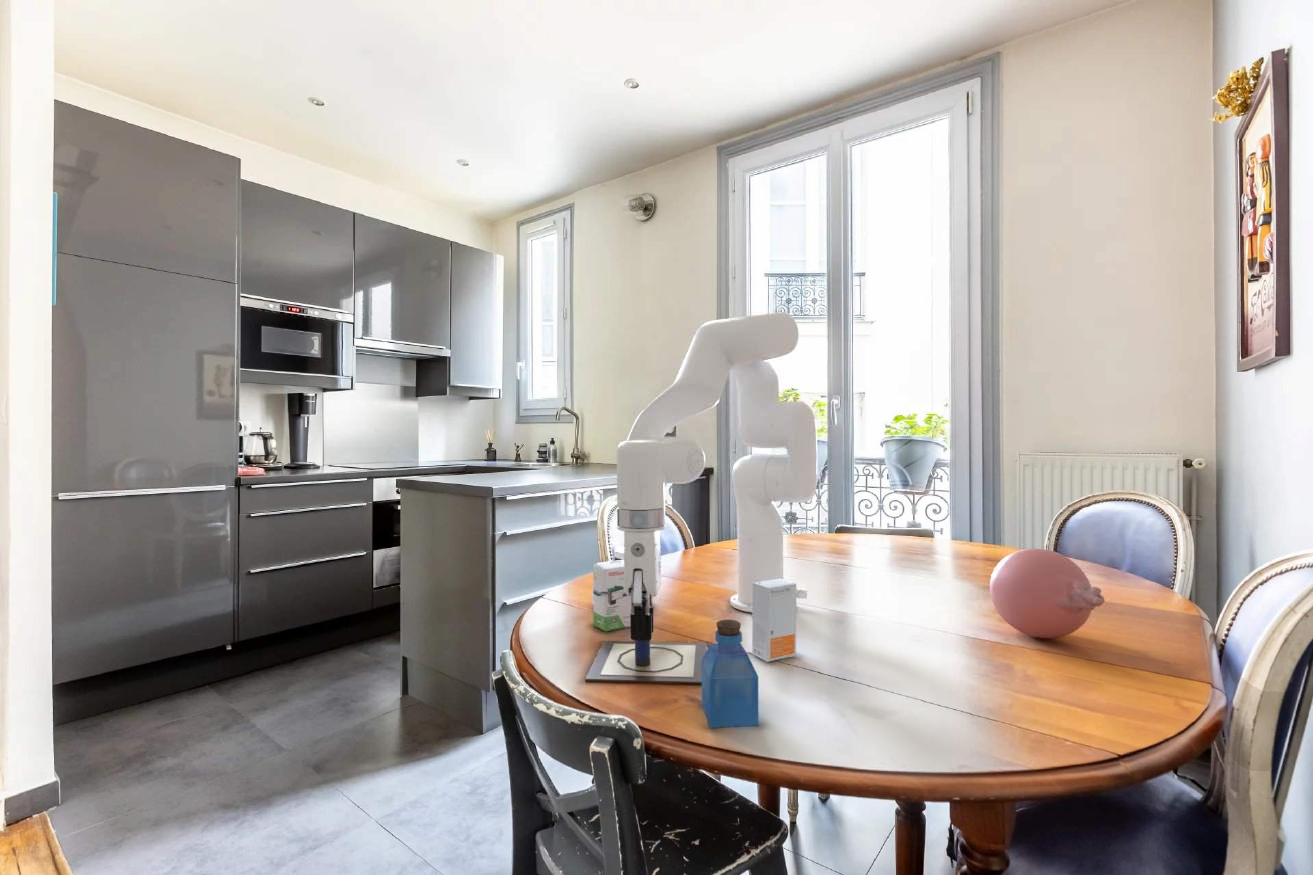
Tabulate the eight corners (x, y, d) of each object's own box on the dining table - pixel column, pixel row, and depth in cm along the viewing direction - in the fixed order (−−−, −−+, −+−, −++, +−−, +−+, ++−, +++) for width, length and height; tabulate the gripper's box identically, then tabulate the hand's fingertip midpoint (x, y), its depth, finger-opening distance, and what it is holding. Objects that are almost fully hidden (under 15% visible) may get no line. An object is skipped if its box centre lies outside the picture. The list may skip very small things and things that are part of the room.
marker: (651, 661, 96) (650, 598, 96) (649, 666, 94) (648, 602, 93) (636, 660, 96) (635, 598, 96) (634, 666, 94) (633, 602, 94)
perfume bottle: (702, 705, 82) (701, 616, 82) (747, 702, 82) (746, 615, 82) (709, 727, 76) (709, 632, 75) (758, 725, 76) (757, 630, 76)
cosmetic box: (767, 663, 96) (767, 588, 96) (751, 654, 100) (751, 582, 99) (797, 656, 99) (797, 583, 98) (780, 648, 102) (780, 577, 102)
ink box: (604, 632, 111) (604, 568, 111) (592, 625, 115) (591, 563, 115) (644, 623, 116) (643, 562, 116) (631, 616, 120) (630, 557, 120)
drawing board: (707, 645, 104) (707, 641, 104) (706, 684, 88) (706, 680, 88) (604, 642, 106) (604, 639, 106) (585, 681, 90) (585, 677, 90)
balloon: (1051, 665, 94) (1052, 566, 94) (971, 623, 114) (971, 542, 114) (1141, 660, 96) (1142, 563, 95) (1047, 620, 115) (1047, 539, 115)
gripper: (660, 527, 86) (662, 655, 86) (668, 512, 102) (669, 620, 103) (608, 527, 87) (610, 654, 87) (624, 511, 103) (625, 619, 103)
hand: (642, 634), depth 95 cm, fingers closed on marker, 2 cm apart
